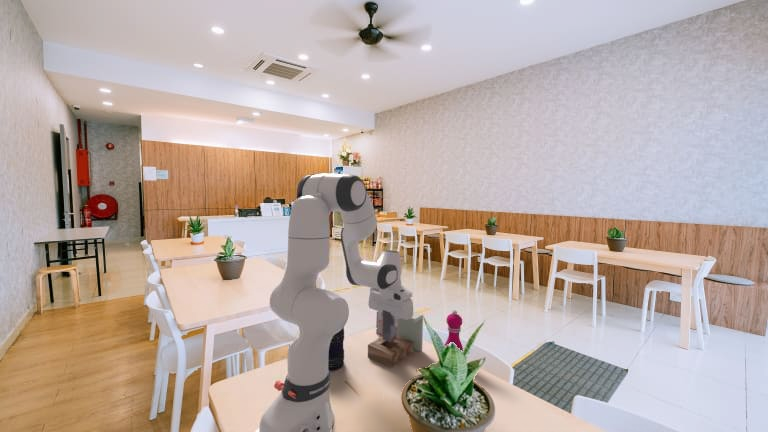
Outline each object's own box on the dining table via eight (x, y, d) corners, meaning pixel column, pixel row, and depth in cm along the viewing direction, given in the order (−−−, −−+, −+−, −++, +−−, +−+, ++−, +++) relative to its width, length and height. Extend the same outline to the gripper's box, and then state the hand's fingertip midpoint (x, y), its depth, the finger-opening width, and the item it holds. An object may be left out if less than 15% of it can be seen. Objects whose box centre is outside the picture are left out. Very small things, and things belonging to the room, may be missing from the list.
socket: (391, 367, 116) (391, 354, 116) (367, 356, 124) (367, 344, 123) (412, 353, 127) (413, 341, 126) (389, 343, 134) (389, 332, 134)
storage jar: (313, 369, 114) (313, 330, 113) (323, 356, 124) (323, 319, 122) (339, 373, 112) (339, 332, 111) (347, 358, 122) (347, 321, 121)
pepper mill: (464, 365, 118) (466, 314, 117) (445, 365, 118) (447, 313, 117) (460, 355, 125) (461, 307, 124) (442, 355, 126) (443, 306, 124)
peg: (390, 342, 121) (390, 312, 120) (382, 339, 124) (382, 310, 123) (396, 338, 124) (397, 309, 123) (388, 335, 127) (389, 307, 126)
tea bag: (376, 330, 147) (377, 309, 147) (391, 331, 147) (391, 310, 146) (376, 334, 144) (376, 312, 143) (390, 334, 143) (391, 313, 143)
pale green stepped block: (414, 356, 124) (414, 319, 123) (383, 344, 134) (383, 309, 133) (422, 351, 129) (423, 314, 127) (391, 339, 139) (392, 305, 138)
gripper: (365, 286, 127) (365, 319, 128) (406, 298, 114) (405, 334, 115) (375, 283, 131) (375, 315, 133) (415, 293, 119) (415, 329, 120)
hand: (389, 324), depth 124 cm, fingers closed on peg, 4 cm apart
